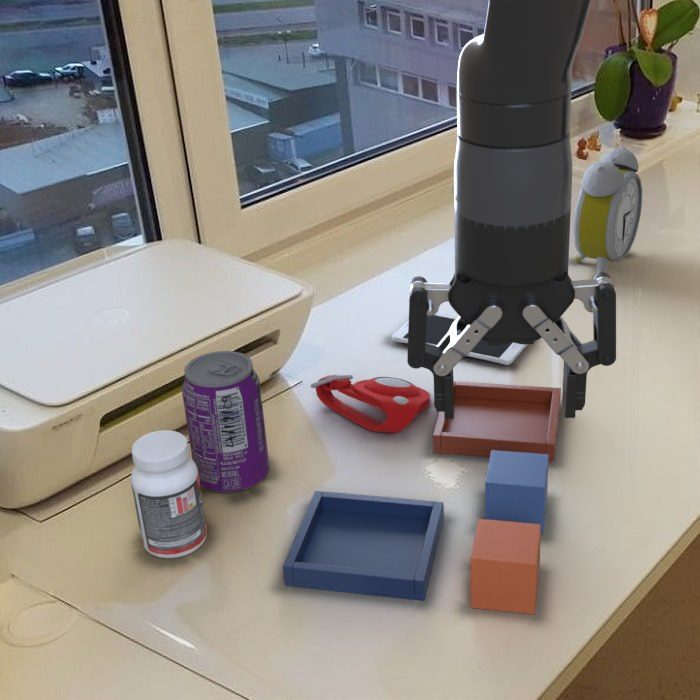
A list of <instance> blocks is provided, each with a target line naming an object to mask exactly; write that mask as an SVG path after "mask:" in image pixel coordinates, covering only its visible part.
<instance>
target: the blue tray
mask: <svg viewBox="0 0 700 700" xmlns="http://www.w3.org/2000/svg"><path fill="white" fill-rule="evenodd" d="M444 507H445V506H444V501H436V500H435V501H434V500H426V499H416V498H415V499H413V498H412V499H411V498H403V497H390V496H379V495H370V494H369V495H368V494H359V493H358V494H356V493H347V492H346V493H344V492H333V491H323V490H322V491H321V490H315V491H314V492H313V494H312V497H311V499H310V502H309V504H308V507H307V509H306V511H305V513H304V516H303V518H302V521H301V523H300V526H299V527H298V531H297V532H296V534H295V538H294V539H293V542H292V544H291V547H290V549H289V551H288V553H287V556H286V558H285V561H284V563H283V565H282V572H283V581H284V586H286V587H295V588H302V589H303V588H305V589H314V590H321V591H322V590H323V591H329V592H330V591H331V592H340V593H347V594H348V593H349V594H359V595H368V596H375V597H376V596H377V597H384V598H385V597H386V598H395V599H405V600H412V601H413V600H414V601H423V602H424V601H426V597H427V596H426V595H427V592H428V589H429V583H430V580H431V575H432V571H433V567H434V563H435V559H436V554H437V550H438V546H439V542H440V537H441V534H442V529H443V526H444V525H443V524H444V521H445V516H444V515H445V514H444V513H445V512H444V509H445V508H444Z"/></svg>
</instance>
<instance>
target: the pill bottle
mask: <svg viewBox="0 0 700 700" xmlns="http://www.w3.org/2000/svg"><path fill="white" fill-rule="evenodd" d="M131 446H132V447H131V457H132V462H133V465H134V468H133V469H132V471H131V475H130V486H131V490H132V495H133V501H134V507H135V512H136V517H137V523H138V527H139V528H138V529H139V533H140V537H141V538H140V539H141V542H142V546H143V548H144V549H145V551H146V552H148V554H150V555H152V556H154V557H156V558H161V559H175V558H182V557H184V556H185V557H186V556H188V555H190V554H192V553H194V552H195V551H197V550H198V549H199V548H200V547H201V546H202V545H204V543H205V541H206V539H207V536H208V526H207V520H206V513H205V507H204V501H203V495H202V494H203V493H202V488H201V485H200V481H199V474H198V469H197V466H196V464H195V462H194V461H193V460H192V457H190V448H189V443H188V440H187V438H186V436H185V435H184V434H183V433H181V432H179V431H175V430H168V429H163V430H156V431H151V432H148V433H146V434H144V435H142V436H140V437H139V438H138V439H136V440H135V441H134V443H133V444H132V445H131Z"/></svg>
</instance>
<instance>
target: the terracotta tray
mask: <svg viewBox="0 0 700 700" xmlns="http://www.w3.org/2000/svg"><path fill="white" fill-rule="evenodd" d="M453 382H454V419H444V412H438V414H437V419H436V422H435V426H434V429H433V433H432V452H433V453H435V454H447V455H462V456H474V457H488V458H490V456H491V451H492V450H497V451H510V452H523V453H536V454H548V455H549V463H551V462H552V463H555V459H556V452H557V451H556V450H557V440H558V432H559V431H558V430H559V422H560V421H559V420H560V411H561V401H562V388H561V387H549V386H533V385H521V384H520V385H519V384H502V383H489V382H488V383H487V382H470V381H469V382H468V381H455V380H453Z"/></svg>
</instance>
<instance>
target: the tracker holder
mask: <svg viewBox="0 0 700 700" xmlns="http://www.w3.org/2000/svg"><path fill="white" fill-rule="evenodd" d="M352 379H354V376H353V375H352V374H333V375H331V374H329V375H326V376H322V377H321V378H319V379H318V380H317V382H313V383H311V384H310V388H311V389H315V393H316V395H317V397H318V399H319V401H321V402H322V403H323V404H324V405H325V406H326V407H328V408H330V409H331V410H332V411H334V412H335V413H337V414H339V415H341V416H342V417H344V418H346V419H347V420H350V421H351V422H354V423H355V424H357V425H359V426H361V427H363V428H365V429H366V430H368V431H371V432H377V433H390V434H397V433H400V432H402V431H403V430H405V429H406V428H407V427H408V426H409V425H410V424H411V423H412V422H413V420H414V419H415V418H416V417H417V416H418V415H419V414H420V413H421V412H422V411H424V410H426V409H427V408H428V407H429V406H430V404H431V393H429V392H428V391H427V390H425V389H423V388H421V387H419V386H416V385H415V384H413V383H411V382H410V381H408V380H405V379H402V378H397V377H390V376H378V377H372V378H370V379H362V380H359V381H355V382H354V383H352V381H351V380H352ZM332 391H337V392H339V393H341V394H343V395H345V396H347V397H349V398H351V399H355V400H356V401H357V400H358V401H360V402H362V403H364V404H368V405H370V406H373V407H375V408H377V409H378V410H380V411H381V412H383V413H384V414H385V415H386V416H387V418H386V419H384V421H383V422H381V421H379V420H377V419H375V418H373V417H372V416H370V415H367V414H365V413H363V412H361V411H359V410H357V409H356V408H354V407H352V406H350V405H348V404H346V403H344V402H343V401H341V400H340V399H338V398H337V397H336V396H335V395H334V394H333V392H332Z"/></svg>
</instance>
